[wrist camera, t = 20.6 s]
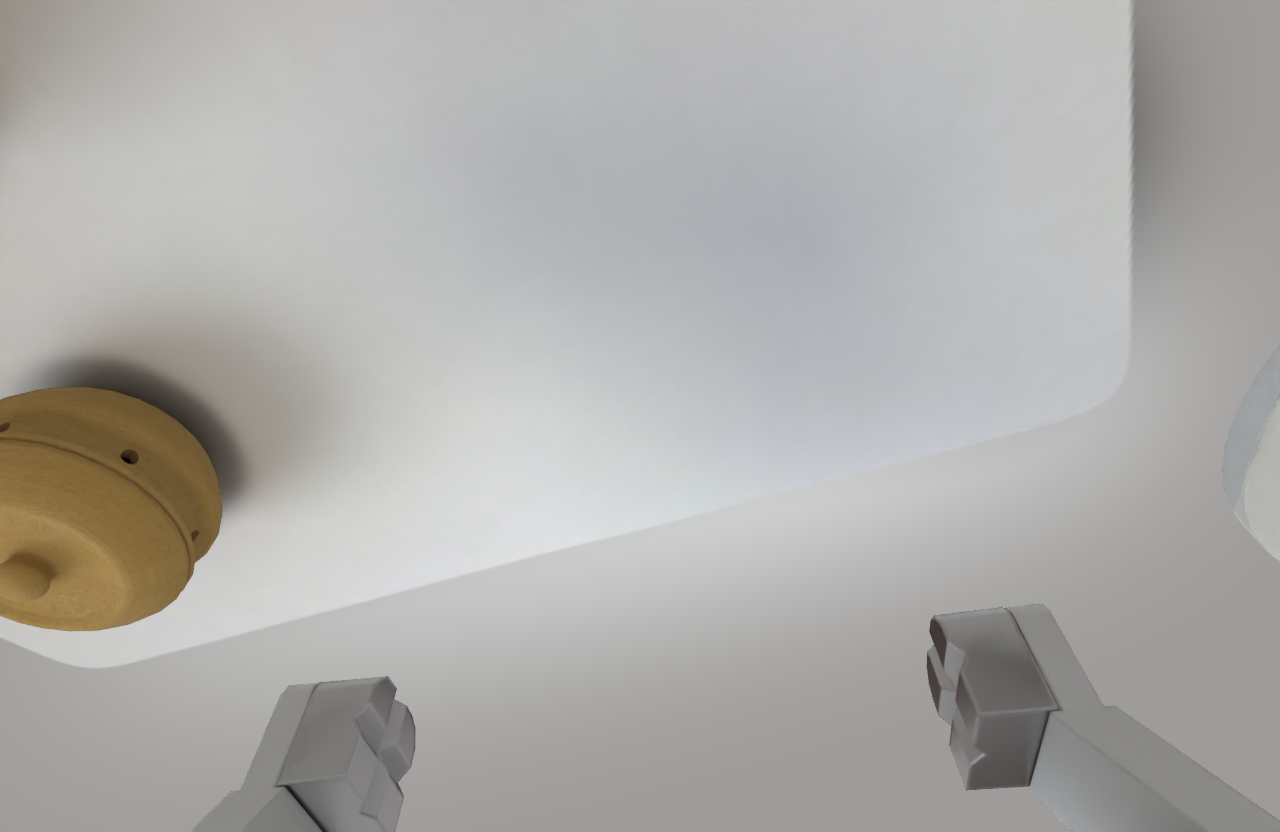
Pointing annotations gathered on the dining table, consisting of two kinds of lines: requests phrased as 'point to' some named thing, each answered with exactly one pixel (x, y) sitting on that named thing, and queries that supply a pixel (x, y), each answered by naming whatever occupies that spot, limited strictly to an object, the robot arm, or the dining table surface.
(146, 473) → the pot
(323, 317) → the dining table surface
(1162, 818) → the robot arm
